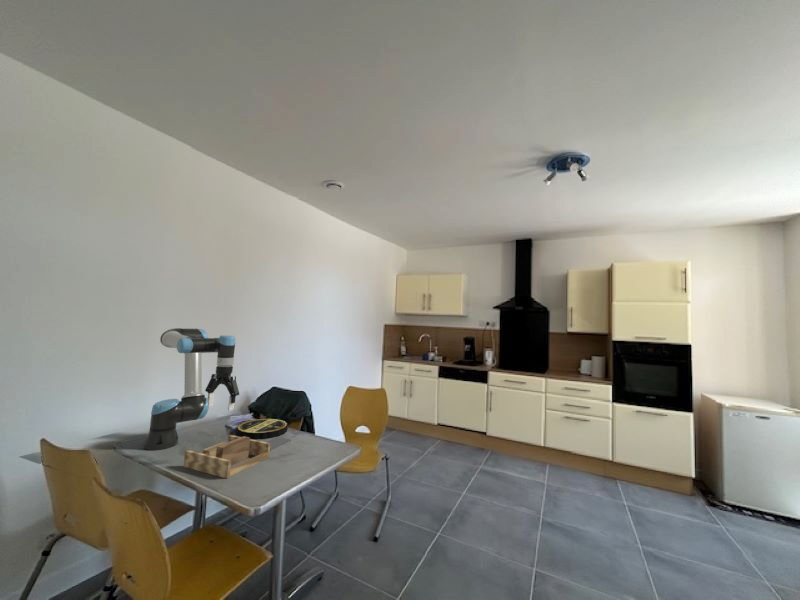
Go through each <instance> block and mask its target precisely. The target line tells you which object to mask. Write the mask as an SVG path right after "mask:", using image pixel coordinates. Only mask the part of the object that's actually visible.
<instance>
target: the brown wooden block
mask: <svg viewBox="0 0 800 600" xmlns="http://www.w3.org/2000/svg"><path fill="white" fill-rule="evenodd" d="M249 445H250V437H245V436H243V437H241V438H238V439H235V440H233V441H230V442H228V441H227V442H226V443H225V444H222V445H219V446H217V449H216V457H219V458H223V459H227V460H231V466H234V465H237V463H238V464H239V462H242V461H245V460H246V459H248V458H249V455H250V454H249Z"/></svg>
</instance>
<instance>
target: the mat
mask: <svg viewBox="0 0 800 600" xmlns="http://www.w3.org/2000/svg"><path fill="white" fill-rule="evenodd" d="M291 441H292V439H289V438H285V437H281V436H278V437H274V438H270V439H268V440H267V441H266V442H267V443H270V451H272V450H274V449H277V448H278V447H280V446H283V445H285V444H286V443H289V442H291Z"/></svg>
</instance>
